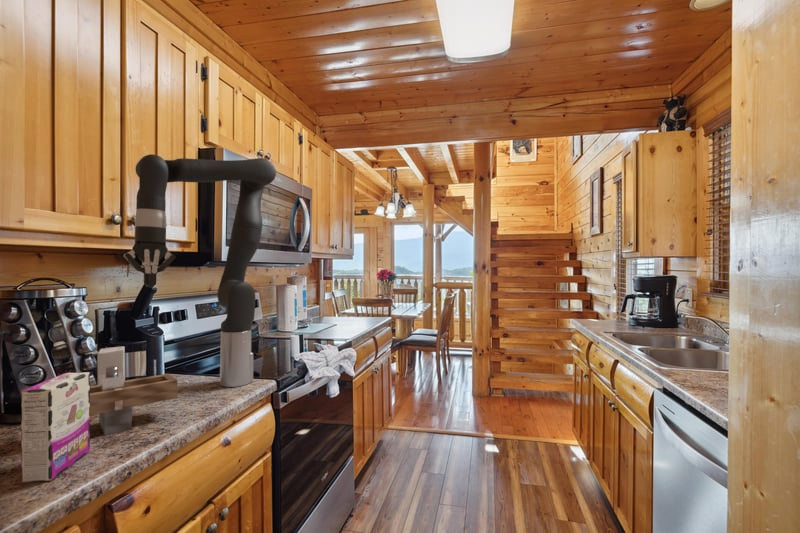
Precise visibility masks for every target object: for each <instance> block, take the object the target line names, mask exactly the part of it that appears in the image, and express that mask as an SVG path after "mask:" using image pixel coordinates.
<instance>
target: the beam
mask: <svg viewBox="0 0 800 533" xmlns="http://www.w3.org/2000/svg"><path fill="white" fill-rule="evenodd" d="M177 398H178V379H177V378H175V377H174V376H172V375H171V374H170V373H165V374H158V375H152V376H146V377H140V378H139V377H138V378H134V379H127V380H126V379H125V381H124V388H117V389H114V390H108V391H102V392H100V385H98V384H96V385H90V410H89V411H90V416H93V415H98V414H99V415H98V424H99V426H100V428H101V431H102V432H103V435H104V436H108V435H112V434H117V433H121V432H125V431H129V430H132V428H133V427H132V426H133V408H134V407H137V406H138V407H139V406H142V405H143V406H144V405H148V404H153V403H159V402H164V401H168V400H172V399H177Z"/></svg>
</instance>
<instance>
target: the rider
mask: <svg viewBox="0 0 800 533" xmlns="http://www.w3.org/2000/svg"><path fill="white" fill-rule="evenodd" d="M118 369H119V366H109V367H106V375H100V392H102V391H108V390H114V389H117V388H124V375H123V374H122V373H121V372H120V373H118Z"/></svg>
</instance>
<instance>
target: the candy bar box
mask: <svg viewBox="0 0 800 533" xmlns="http://www.w3.org/2000/svg"><path fill="white" fill-rule="evenodd" d="M90 374H91V372H89V371H87V372H85V371H84V372H66V373H65V372H64V373H62V374H59V375H57V376H55V377H54V376H53V377H52V378H50V379H47V380H45V381H42V382H40V383H37V384H35V385H33V386H30V387H27V388H25V389H23V390H21V392H20V394H21V395H20V399H21V400H20V401H21V402H20V403H21V404H20V406H21V408H20V410H21V415H20V416H21V419H20V420H21V421H20V423H21V424H20V425H21V442H20V446H21V483H24V484H26V483H40V482H49V481H50V482H51V481H52V480H54V479H56V477H58V476H60V475H61V474H62V473H63V472H64V471H66V470H68V469H69V467H71V466H72V465H74V464H75V463H76V462H77V461H79V460H80V459H82V457H84V456H86V454H87V455H88V454H89V452H90V451H91V449H90V448H91V447H90V446H91V441H90V440H91V438H90V434H91V432H90V430H91V429H90V427H91V426H90V425H91V424H90V423H91V422H90V420H91V418H90V416H91V415H90V411H89V410H90V386H91V385H90V384H91V383H90V381H91V380H90V376H91V375H90Z"/></svg>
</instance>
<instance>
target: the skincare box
mask: <svg viewBox="0 0 800 533" xmlns="http://www.w3.org/2000/svg"><path fill="white" fill-rule="evenodd" d="M125 349H126V348H125V346H114V347H104V348H100V349H98V352H97V385H100V375H106V367H109V366H119V369H118V373H120V372H121V373H122V374H123V375H124V381H126V360H125V359H126V352H125Z"/></svg>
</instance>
